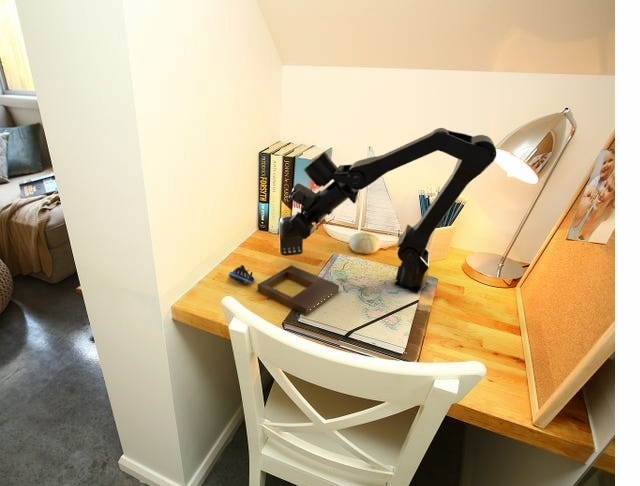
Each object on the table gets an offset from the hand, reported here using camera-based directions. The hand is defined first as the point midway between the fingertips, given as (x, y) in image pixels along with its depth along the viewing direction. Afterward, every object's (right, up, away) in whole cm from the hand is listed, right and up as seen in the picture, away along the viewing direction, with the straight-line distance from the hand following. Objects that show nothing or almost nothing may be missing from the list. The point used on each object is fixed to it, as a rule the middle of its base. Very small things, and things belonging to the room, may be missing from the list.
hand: (287, 232), depth 113 cm
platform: (+2, -17, -8) cm, 19 cm away
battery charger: (+2, -6, +3) cm, 7 cm away
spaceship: (-13, -14, -2) cm, 19 cm away
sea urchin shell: (+25, -4, +11) cm, 28 cm away
